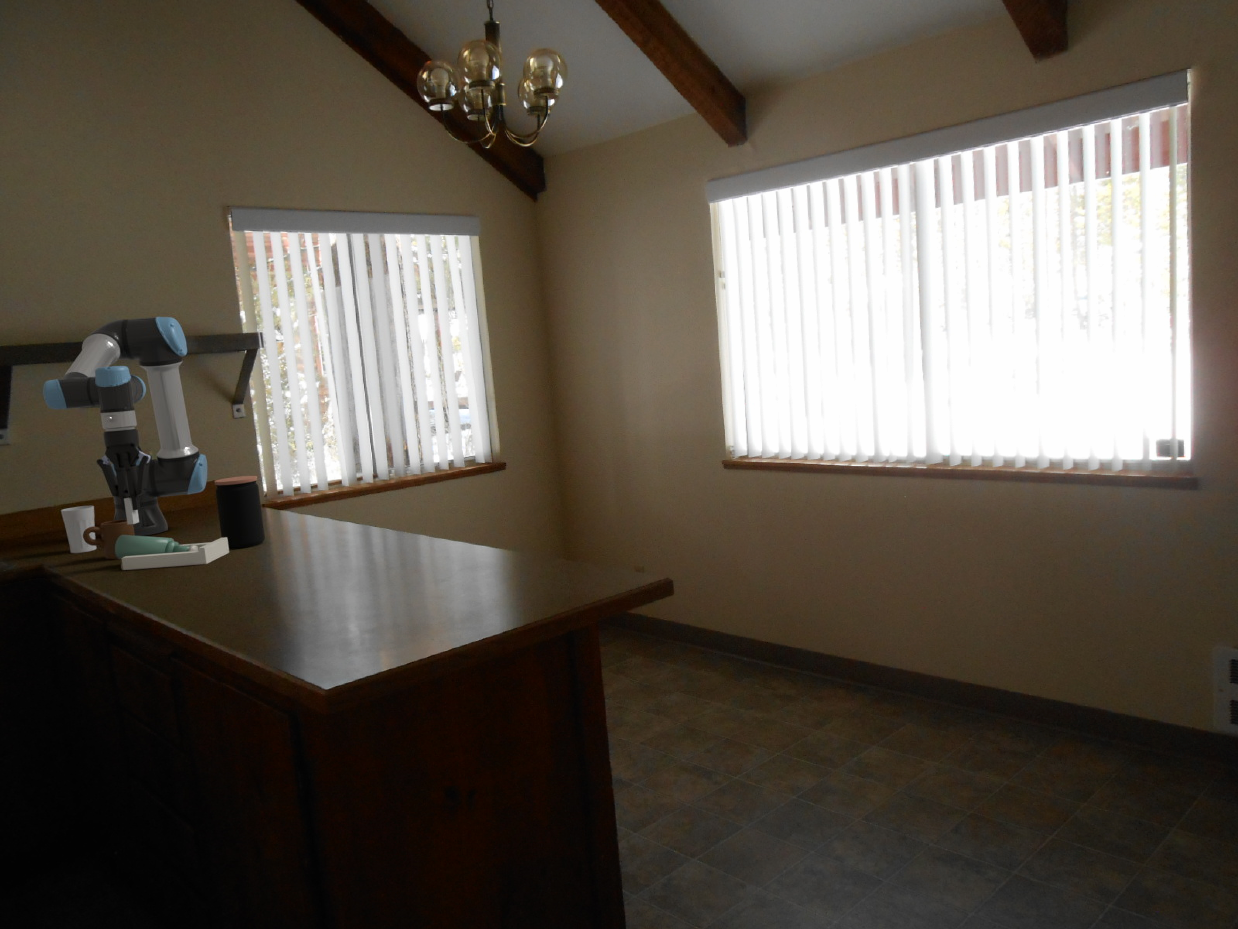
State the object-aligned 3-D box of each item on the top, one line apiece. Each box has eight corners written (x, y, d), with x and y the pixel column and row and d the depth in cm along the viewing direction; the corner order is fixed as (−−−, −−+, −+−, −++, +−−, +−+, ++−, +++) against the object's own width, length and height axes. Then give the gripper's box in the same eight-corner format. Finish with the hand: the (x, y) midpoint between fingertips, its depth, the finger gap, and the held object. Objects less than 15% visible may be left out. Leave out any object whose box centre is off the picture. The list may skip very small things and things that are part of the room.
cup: (89, 552, 255) (83, 509, 254) (61, 554, 256) (54, 511, 254) (105, 546, 263) (99, 504, 262) (78, 548, 263) (72, 507, 262)
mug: (91, 564, 236) (85, 528, 235) (82, 561, 242) (77, 526, 241) (141, 555, 245) (136, 520, 243) (132, 552, 250) (127, 518, 249)
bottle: (128, 532, 234) (200, 537, 234) (128, 555, 235) (200, 560, 235) (114, 537, 228) (189, 542, 228) (115, 561, 229) (189, 566, 229)
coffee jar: (272, 539, 252) (264, 474, 250) (253, 548, 242) (245, 480, 240) (235, 542, 253) (227, 477, 251) (214, 550, 243) (206, 482, 241)
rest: (146, 558, 239) (144, 543, 238) (229, 552, 238) (227, 537, 238) (119, 570, 226) (116, 554, 225) (206, 563, 225) (204, 547, 225)
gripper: (85, 432, 224) (99, 528, 227) (138, 428, 224) (151, 524, 227) (102, 430, 232) (115, 522, 235) (154, 426, 232) (166, 518, 234)
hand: (133, 523), depth 231 cm, fingers closed
